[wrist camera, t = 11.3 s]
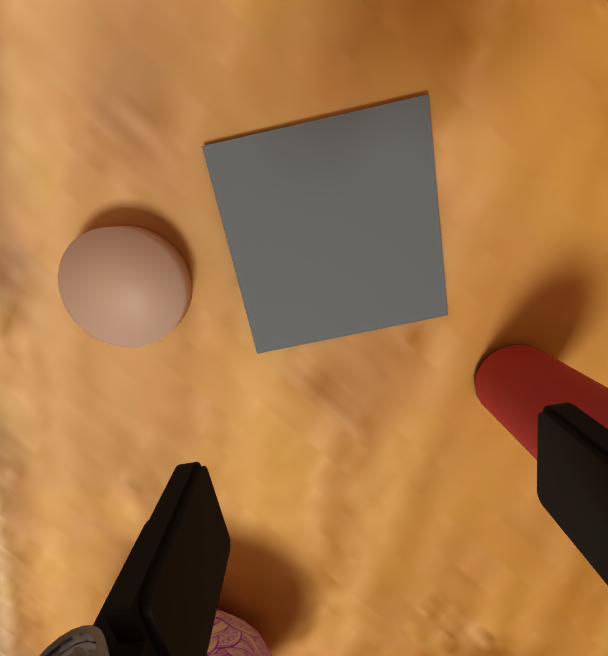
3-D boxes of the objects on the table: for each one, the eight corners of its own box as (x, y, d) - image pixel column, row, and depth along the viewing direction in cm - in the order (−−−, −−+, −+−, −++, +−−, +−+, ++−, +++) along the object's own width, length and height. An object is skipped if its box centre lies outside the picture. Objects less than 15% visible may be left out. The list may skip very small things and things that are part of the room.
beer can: (482, 420, 33) (582, 529, 21) (461, 360, 31) (558, 445, 20) (553, 392, 32) (694, 490, 21) (536, 329, 30) (681, 399, 19)
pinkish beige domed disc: (167, 211, 27) (154, 211, 25) (208, 321, 30) (200, 331, 27) (58, 243, 28) (35, 246, 25) (108, 348, 30) (91, 360, 28)
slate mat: (425, 96, 25) (428, 94, 24) (445, 313, 30) (447, 315, 29) (203, 147, 26) (202, 146, 25) (257, 351, 30) (257, 353, 30)
